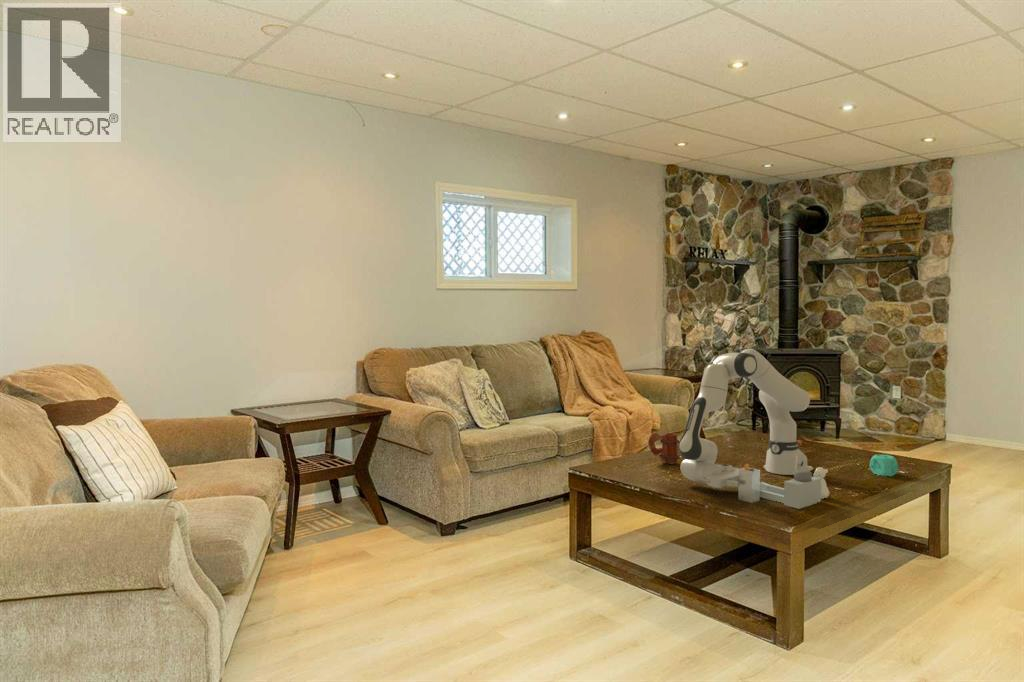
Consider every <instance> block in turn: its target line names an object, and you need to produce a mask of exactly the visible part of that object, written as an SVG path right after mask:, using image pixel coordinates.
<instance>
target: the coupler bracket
mask: <svg viewBox="0 0 1024 682" xmlns="http://www.w3.org/2000/svg"><path fill="white" fill-rule="evenodd" d="M812 475H813V473H812V472H811V471H805V470H796V471H794V475H793V476H794V478H792V479H789V480H785V481H784V483H783V484H784V486H783V487H781V486H776V485H773V484H769V483H766V482H764V481H760V498H761V497H762V499H765V500H769V501H773V502H776V501H777V503H780V502H781V504H783V505H784V506H785V507H790V508H794V509H798V510H800V509H803V508H806V507H810V506H812V505H815V504H818V503H821V502H820V501H822V499H821V478H817V477H814V476H812ZM817 502H818V503H817Z"/></svg>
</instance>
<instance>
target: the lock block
mask: <svg viewBox="0 0 1024 682" xmlns="http://www.w3.org/2000/svg"><path fill="white" fill-rule="evenodd" d="M760 482H761V470H760V469H757V468H753V467H750V464H749V463H745V464H744V467H742V468H739V486H738V489H737V490H738V492H737V493H738V494H737V495H738V499H739V500H740V501H742V500H743V502H747V503H751V504H754V503H757V502H759V501H760V499H761V497H760ZM739 500H738V501H739ZM756 501H757V502H756ZM753 502H754V503H753Z"/></svg>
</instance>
